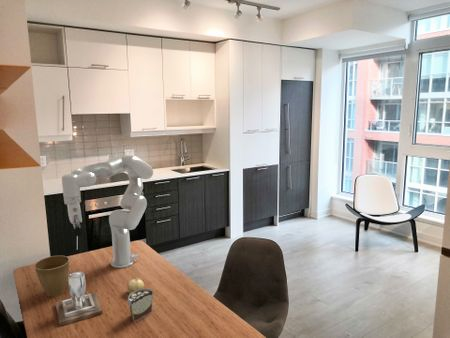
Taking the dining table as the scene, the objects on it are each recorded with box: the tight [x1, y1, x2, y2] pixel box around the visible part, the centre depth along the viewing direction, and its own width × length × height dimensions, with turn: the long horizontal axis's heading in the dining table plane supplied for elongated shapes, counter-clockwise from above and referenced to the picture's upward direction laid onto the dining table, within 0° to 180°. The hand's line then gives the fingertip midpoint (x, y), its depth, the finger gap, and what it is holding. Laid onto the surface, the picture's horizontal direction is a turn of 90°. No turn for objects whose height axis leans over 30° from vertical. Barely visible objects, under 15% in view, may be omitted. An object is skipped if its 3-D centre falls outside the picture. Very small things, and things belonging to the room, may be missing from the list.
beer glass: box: [67, 271, 87, 310], centre depth 150 cm, size 7×7×15 cm
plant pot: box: [33, 255, 70, 298], centre depth 164 cm, size 15×15×16 cm
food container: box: [127, 288, 155, 323], centre depth 147 cm, size 12×6×10 cm, turn 141°
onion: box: [126, 276, 145, 294], centre depth 165 cm, size 8×8×7 cm
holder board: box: [55, 292, 103, 327], centre depth 151 cm, size 17×17×3 cm
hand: (76, 232), depth 169 cm, fingers open, 9 cm apart
